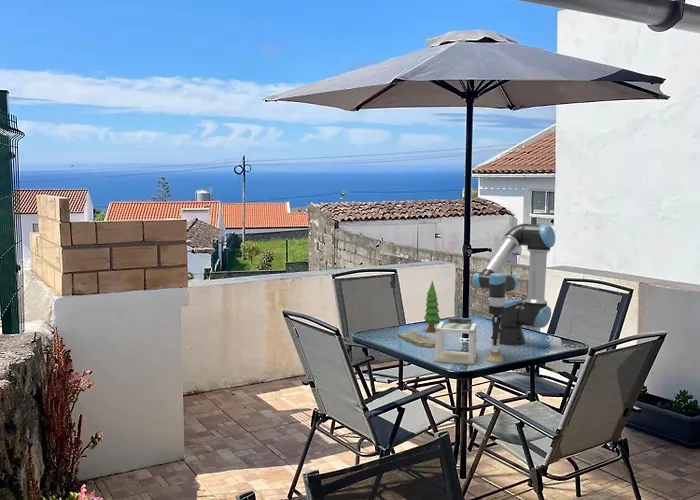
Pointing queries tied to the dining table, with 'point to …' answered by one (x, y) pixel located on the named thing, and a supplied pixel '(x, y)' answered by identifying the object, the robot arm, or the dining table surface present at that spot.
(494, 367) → the dining table surface
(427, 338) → the stone slab
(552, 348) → the dining table surface
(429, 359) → the dining table surface
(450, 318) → the trapdoor
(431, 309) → the decorative tree
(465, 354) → the frame
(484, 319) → the dining table surface
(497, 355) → the hand bell
